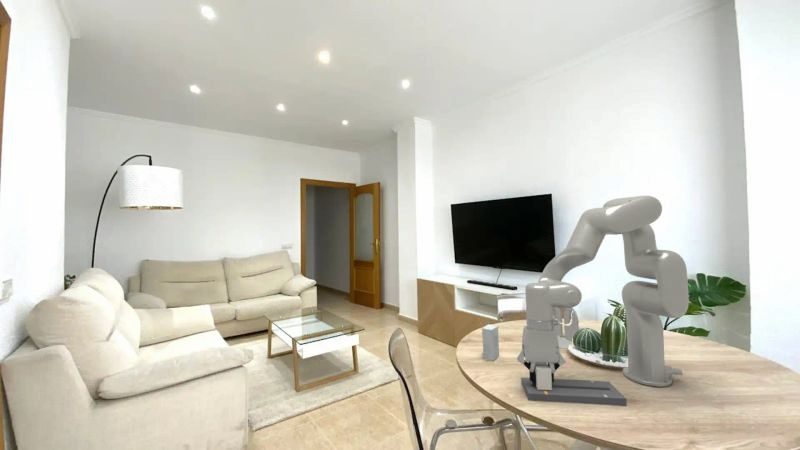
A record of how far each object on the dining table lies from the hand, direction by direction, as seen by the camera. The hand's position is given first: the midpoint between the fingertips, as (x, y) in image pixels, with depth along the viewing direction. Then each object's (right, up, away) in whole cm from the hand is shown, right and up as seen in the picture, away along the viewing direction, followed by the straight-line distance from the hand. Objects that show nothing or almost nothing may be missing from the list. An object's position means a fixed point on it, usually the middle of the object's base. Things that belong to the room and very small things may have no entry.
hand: (541, 383), depth 95 cm
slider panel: (+8, -3, -1) cm, 8 cm away
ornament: (+24, -3, +42) cm, 49 cm away
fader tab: (0, -1, 0) cm, 0 cm away
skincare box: (-8, -4, +27) cm, 28 cm away
